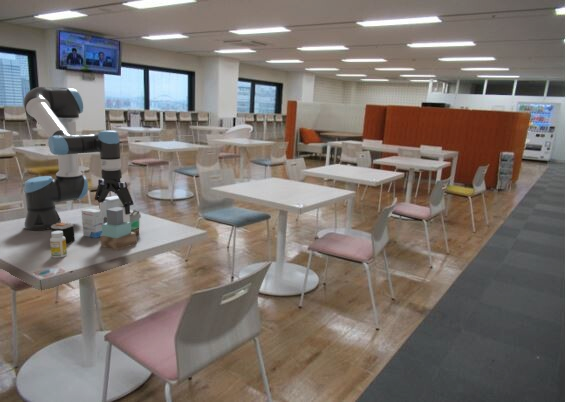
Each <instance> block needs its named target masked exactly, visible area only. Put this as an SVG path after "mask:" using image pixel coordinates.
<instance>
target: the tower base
mask: <svg viewBox="0 0 566 402" xmlns="http://www.w3.org/2000/svg"><path fill="white" fill-rule="evenodd" d="M99 238H100V239H99V240H100V246H101V247H104V248H108V249H112V250H115V251H119V250H122V249H126V248H127V247H131V246H133V245H136V244H137V242H138V241H137V236H136V233H134V232H131V234H128V235H125V236H123V237H120V238H117V239H116V238H111V237H107V236H102V235H100V237H99Z"/></svg>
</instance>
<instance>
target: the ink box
mask: <svg viewBox="0 0 566 402" xmlns="http://www.w3.org/2000/svg"><path fill="white" fill-rule="evenodd" d="M81 220H82V221H81V223H82V234H83V236H84V237H87V238H88V237H89V238H93V239H94V238H95V239H98V238H100V235H102V224H104V223H105V222H104V217H102V218H101V217H100V209H95V208H87V209H83V210H81Z"/></svg>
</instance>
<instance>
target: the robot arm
mask: <svg viewBox="0 0 566 402" xmlns="http://www.w3.org/2000/svg"><path fill="white" fill-rule="evenodd" d="M79 92H80V91H78V90H77V89H76V88H72V87H58V86H57V87H51V86H37V87H35V88H31V89H30V90H29V91H28V92H27V93H26V94H25V96H24V98H23V108H24V110H25V111H26V113H27V114H28V115H29V116H30V117H32V118H34V119H35V121H36V122H37V123H38V125H39V126H40V128H41V129H42V130H43V131H44V133H45V135H46V136H47V137H48V139H47V140H48V142H47V143H48V149H49V151H50V153H51V154H52V155H54V156H57V158H58V159H57V161H58V171H57V172H56V173H55V176H56V177H55V178H53V177H52V176H50V175H44V176H37V177H36V176H35V177H31V178H29V179H28V180H26V181H25V182H24V190H23V191H24V195H25V196H24V197H25V202H26V203H25V204H26V216H25V220H24V229H25V230H28V231H43V230H45V231H47V230H51V226H52V225H54V224H56V223H62V219H61V217H60V215H59V213H58V211H57V209H56V203H63V202H71V201H77V200H81V199H84V198H86V196H87V194H88V192H89V182H88V179H87V176H86V175H84V174H83V172H82V171H80V168H79V154H92V153H99V156H100V157H99V158H100V166H101V167H100V168H101V170H100V171H101V179H98V183H97V184H98V185H97V188H96V192H95V196H94V200H95V201H97V202H98V208H99V209H98V210H100V217H101V218H102V217H103V218H105V217H106V216H107V213H106V210H107V209H106V201H105V198H106V197H108V195H109V194H110V192H112V193H114V194H116V196H118V197H119V199H120V201H121V202H122V204H123V205H124V206H123V207H122V209H123V222H128V221H130V215H129V214H130V212H131V208H130V207H132V206H133V205H134V203H135V202H134V201H133V198H132V196H131V194H130V191H129V189H128V186H127V185H128V184H127V181H122V182H121V179H122V177H123V175H122V174H123V173H122V169H121V168H122V160H121V159H122V158H121V147H120V146H121V144H120V141H121V140H120V135H119V132H118V130H109V129H108V130H99V132H96V133H94V132H93V133H89V134H88V133H87V134H77V122H76V121H77V120H78V119H79V118H80V116H79V115H80V114H82V113H83V112H84V103H83V102H84V101H83V98H82V96H81V94H80V93H79ZM103 201H104V202H103Z"/></svg>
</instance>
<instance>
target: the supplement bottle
mask: <svg viewBox="0 0 566 402" xmlns="http://www.w3.org/2000/svg"><path fill="white" fill-rule="evenodd" d="M50 232H51V231H50ZM50 235H51V236H50V238H49V246H50V254H51V257H52V258H59V259H60V258H63V257H65V256H67V254H68V251H67V249H68V248H67V244H66V238H65V237H64V236H63V231H53V232H51V233H50Z"/></svg>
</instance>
